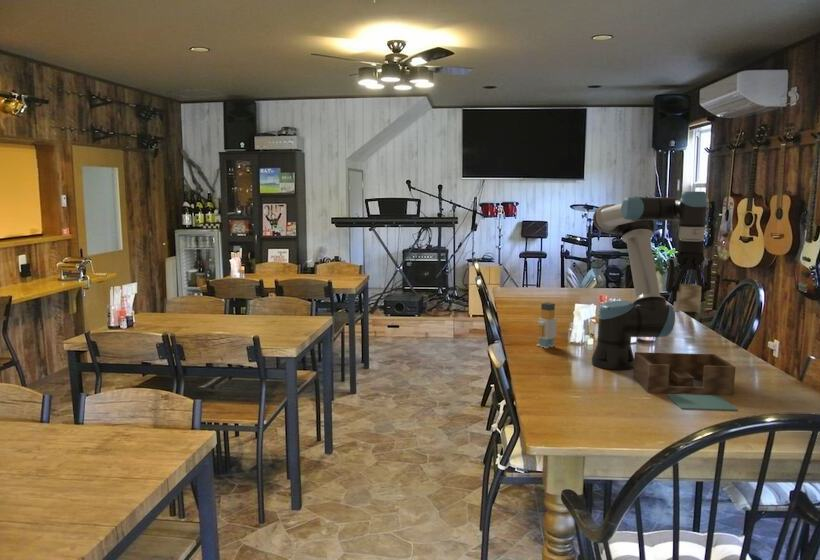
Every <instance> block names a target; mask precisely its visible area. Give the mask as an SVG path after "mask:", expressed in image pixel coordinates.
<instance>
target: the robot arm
mask: <svg viewBox="0 0 820 560" xmlns="http://www.w3.org/2000/svg"><path fill="white" fill-rule="evenodd" d="M707 197H708V195H707V192H706V191H692V190H691V191H683V192H682V193H681V195H680V197H679V196H678V197H677V196H675V197H674V196H672V197H661V196H660V197H649V196H648V197H647V196H646V197H644V196H643V197H641V196H640V197H639V196H631V197H628V196H627V197H625V198H624V199H623V201H622V202H620V203H617V204H615V203H614V204H613V203H612V204H605V205H601V206H599V207H598V208H596V210H595V211H594V213H593V215H592V221H593V224H594V226H595V228H597V230H599V231H600V232H602V233H604V234H605V233H606V234H608V235H609V234H610V235H611V234H612V235H621V240H622V242H624V243H625V244H626V246H627V252H628V257H629V264H630V269H631V270H630V271H631V276H632V282H633V289H634V294H635V299H634V301H630V300H613V301H608V302H604V303H601V305H600V307H599V311H598V314H597V315H598V316H597V318H598V328H597V343H596V346H595V349H594V351H593V354H592V356H591V364H592V365H593V366H595V367H597V368H601V369H605V370H606V369H607V370H614V371H616V370H617V371H625V370H632V369H634V356H635V355H634V352H633V349H632V345H631V343H632V342H631V341H632V338H655V339H657V338H661V337H662V338H664V337H668V336H669V335H670V334H671V333H672V332H673V330H674V326H675V323H676V313H679V312H680V311H679V296H680V292H678V291H677V290H678V288H679V285H680V284H682V280H683V277H684V275H685V273H686V271H687V270H692V272H693V274H694V275H693V276H694V278H695V283H696V285H698V286H701V301H700V307H701V305H702V304H701V303H703V302H704V301H705V293H706V292H709V291H711V290H712V265H713V263H714V260H712V259H710V258H705V256H704V250H705V249H704V247H705V242H704V241H703V240H705V231H706V220H707V219H706V218H707V208H708V202H707V201H708V200H707V199H708V198H707ZM658 221H679V228H678V239H679V240H678V243H677V254H676V257H673V258H667V259H666V262H667V267H668V268H667V273H666V280H665V289H666V290H669V291H671V294H670V295H671V296H670V301H671V302H673V306H672V305H670V304H667V301H666V298H665V297H664V296H662V295H661V293H660V292H661V291H660V287H659V281H658V277H657V270H656V266H655V265H656V264H655V259H654V254H653V247H652V243H651V239H652V238H653V236H654V233H656V232H657V231H656V230H657V228H658V224H657V223H658ZM677 263H678V265H679V266H678V269H677V273H676V274H675V269H676V268H675V265H677ZM702 263H703V272H704V273H703V278H702V273H701V267H700V266H701V264H702ZM674 275H675V278H674ZM697 313H698V314H700V313H701V311H700V312H696V314H697Z"/></svg>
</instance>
